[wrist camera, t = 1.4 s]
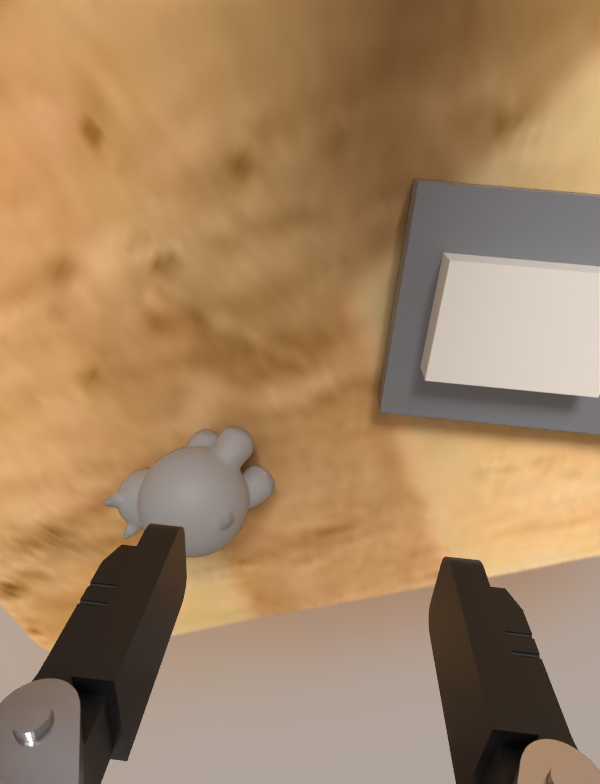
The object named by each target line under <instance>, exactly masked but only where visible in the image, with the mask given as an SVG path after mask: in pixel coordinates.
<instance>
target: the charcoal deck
mask: <svg viewBox="0 0 600 784" xmlns="http://www.w3.org/2000/svg"><path fill="white" fill-rule="evenodd" d="M443 253H454V254H465V255H476V256H488V257H499V258H510V259H521V260H533V261H544V262H555V263H567V264H578V265H589V266H600V195H598V194H586V193H574V192H562V191H550V190H538V189H526V188H514V187H502V186H490V185H478V184H466V183H454V182H442V181H430V180H418V179H414V181H413V187H412V193H411V199H410V205H409V211H408V217H407V224H406V230H405V236H404V242H403V248H402V254H401V260H400V266H399V273H398V279H397V285H396V291H395V297H394V303H393V309H392V316H391V322H390V328H389V334H388V340H387V346H386V352H385V359H384V365H383V371H382V377H381V383H380V389H379V395H378V402H379V409H380V413H390V414H400V415H410V416H420V417H430V418H440V419H450V420H460V421H470V422H480V423H489V424H499V425H509V426H519V427H529V428H539V429H549V430H559V431H569V432H579V433H589V434H599V435H600V395H599V397H598V398H597V397H587V396H576V395H566V394H556V393H546V392H535V391H525V390H515V389H505V388H495V387H484V386H474V385H464V384H454V383H444V382H433V381H425V379H424V376H423V373H422V370H421V368H420V366H421V361H422V356H423V351H424V346H425V341H426V336H427V331H428V326H429V321H430V316H431V311H432V306H433V301H434V296H435V291H436V286H437V281H438V276H439V271H440V266H441V261H442V256H443Z"/></svg>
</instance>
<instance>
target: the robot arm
mask: <svg viewBox="0 0 600 784" xmlns="http://www.w3.org/2000/svg"><path fill="white" fill-rule="evenodd" d="M186 579H187V571H186V548H185V531H184V528H183V527H180V526H171V525H162V524H153V523H151V524H149V525H148V526H147V528H146V529H145V531H144V533H143V535H142V537H141V539H140V541H139V543H138V545H137V546H129V545H121V546H120V547H118V548H117V549H116V550H115V551H114V552H113V553H111V554H110V555H109V556H108V557H107V558H106V559H105V560H103V561H102V563H101V565H100V566H99V568H98V570H97V572H96V573H95V575H94V577H93V579H92V580H91V582H90V586H88V587H87V589H86V591H85V592H84V594H83V596H82V598H81V601H80V604H78V605H77V606H76V608H75V610H74V612H73V613H72V615H71V617H70V619H69V620H68V622H67V624H66V626H65V627H64V629H63V631H62V633H61V634H60V636H59V638H58V640H57V641H56V643H55V645H54V647H53V648H52V650H51V652H50V654H49V656H48V657H47V659H46V660H45V662H44V664H43V666H42V667H41V669H40V671H39V672H38V674H37V675H36V677H35V678H34V680H33V681H32V682H30V683H28V684H26V685H23V686H21V687H20V688H18V689H17V690H15V691H13V692H12V693H11V694H10V695H8V696H7V697H6V698H5V699H4V700H3V701H2V702H1V703H0V784H101V781H102V779H103V776H104V773H105V771H106V768H107V765H108V763H109V760H110V759H115V760H123V761H127V760H128V757H129V754H130V751H131V748H132V746H133V743H134V740H135V737H136V734H137V731H138V728H139V726H140V722H141V720H142V717H143V714H144V711H145V708H146V705H147V702H148V700H149V697H150V694H151V691H152V688H153V685H154V682H155V679H156V677H157V674H158V671H159V668H160V665H161V662H162V659H163V657H164V654H165V651H166V648H167V645H168V642H169V639H170V637H171V634H172V631H173V628H174V625H175V622H176V619H177V616H178V614H179V611H180V608H181V605H182V602H183V598H184V593H185V588H186ZM429 632H430V638H431V644H432V650H433V656H434V661H435V667H436V673H437V678H438V684H439V690H440V695H441V701H442V706H443V712H444V718H445V724H446V729H447V735H448V741H449V746H450V752H451V758H452V763H453V768H454V774H455V780H456V784H600V770H599V769H598V768H597V767H596V766H595V764H594V763H593V762H592V761H591V760H589V759H588V758H587V757H586V756H585V755H584V754H582V753H581V752H580V751H579V750H578V749H577V747H576V745H575V743H574V741H573V739H572V737H571V734H570V732H569V729H568V726H567V724H566V721H565V719H564V716H563V714H562V711H561V708H560V706H559V703H558V700H557V698H556V695H555V693H554V690H553V688H552V685H551V683H550V680H549V677H548V674H547V672H546V669H545V667H544V664H543V662H542V659H540V657H539V651H538V648H537V646H536V643H535V641H534V639H532V633H531V630H530V628H529V625H528V623H527V620H526V617H525V615H524V612H523V610H522V609H521V608H520V606H519V605H518V604H517V603H516V601H515V600H514V599H513V598H512V596H511V595H510V594H509V593H508V591H507V590H506V589H505V588H496V587H490V585H489V582H488V579H487V576H486V573H485V569H484V567H483V564H482V563H481V561H479V560H472V559H463V558H453V557H444V558H443V560H442V563H441V566H440V570H439V573H438V577H437V581H436V584H435V588H434V592H433V596H432V599H431V603H430V609H429Z"/></svg>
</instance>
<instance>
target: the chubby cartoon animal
mask: <svg viewBox="0 0 600 784" xmlns="http://www.w3.org/2000/svg"><path fill="white" fill-rule="evenodd" d="M253 449H254V441H253V438H252V436H251V435H250V434H249V433H248V432H247V431H245V430H243V429H241V428H239V427H233V426H232V427H228V428H226V429H225V430H223V431H222V432H221V434H220V435H218V434H216V433H215V432H213V431H211V430H208V429H203V430H200V431H198V432H197V433H196V434H195V435H194V436H193V437H192V438H191V439H190V440H189V442H188V444H187V446H186V447H185V448H180V449H177V450H174V451H172V452H170V453H168V454H166V455H165V456H163V457H162V458H160V459H159V460H158V461H157V462H156V463H155V464H154V465H153V466H152V467H151V468H146V469H141V470H137V471H135V472H133V473H132V474H130V475H129V476H128V477H126V478H125V480H124V481H123V482H122V484H121V486H120V488H119V490H118V492H117V493H115V494H114V495H112V496H110V497H109V498H108V499H107V500H106V501H105V502H104V504H105V505H106V506H110V507H116V508H118V510H119V513H120V514H121V516H122V517H123V519H124V520H125V521H126V522H127V528H126V531H125V533H124V538H125V539H127V538H130V537H132V536H133V535H135V534H136V533H137V532H139V531H140V530H141V529H142V528H143V529H144V531H145V529H146V528H147V526H148V525H149V524H151V523H153V524H162V525H171V526H180V527H183V528H184V531H185V548H186V557H200V556H205V555H208V554H211V553H213V552H216V551H218V550H219V549H221V548H222V547H224V546H225V545H227V544H228V543H229V542H230V541H231V540H232V539H233V538H234V537H235V536H236V534H237V533H238V531H239V530H240V528H241V527H242V525H243V522H244V520H245V517H246V514H247V511H248V510H249V509H250V508H253V507H255V506H257V505H259V504H261V503H262V502H264V501H265V500H266V499H268V498H269V496H270V495H271V494H272V492H273V490H274V487H275V482H274V479H273V477H272V476H271V474H270V473H269V472H268V471H267V470H266V469H264V468H263V467H261V466H258V465H254V466H250V467H249V468H247V469H246V470H245V471H244V472H243V473H241V471H240V468H241V466H242V465H243V464H244V463H245V462H246V461H247V460H248V458H249V457H250V456H251V454H252V452H253Z"/></svg>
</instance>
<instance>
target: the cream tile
mask: <svg viewBox="0 0 600 784" xmlns="http://www.w3.org/2000/svg"><path fill="white" fill-rule="evenodd" d="M420 368H421V370H422V373H423V376H424V379H425V381H433V382H444V383H454V384H464V385H474V386H484V387H495V388H505V389H515V390H525V391H535V392H546V393H556V394H566V395H576V396H587V397H597V398H598V397H599V395H600V266H589V265H578V264H567V263H555V262H544V261H533V260H521V259H510V258H499V257H488V256H476V255H465V254H454V253H443V256H442V261H441V266H440V271H439V276H438V281H437V286H436V291H435V296H434V301H433V306H432V311H431V316H430V321H429V326H428V331H427V336H426V341H425V346H424V351H423V356H422V361H421V366H420Z"/></svg>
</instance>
